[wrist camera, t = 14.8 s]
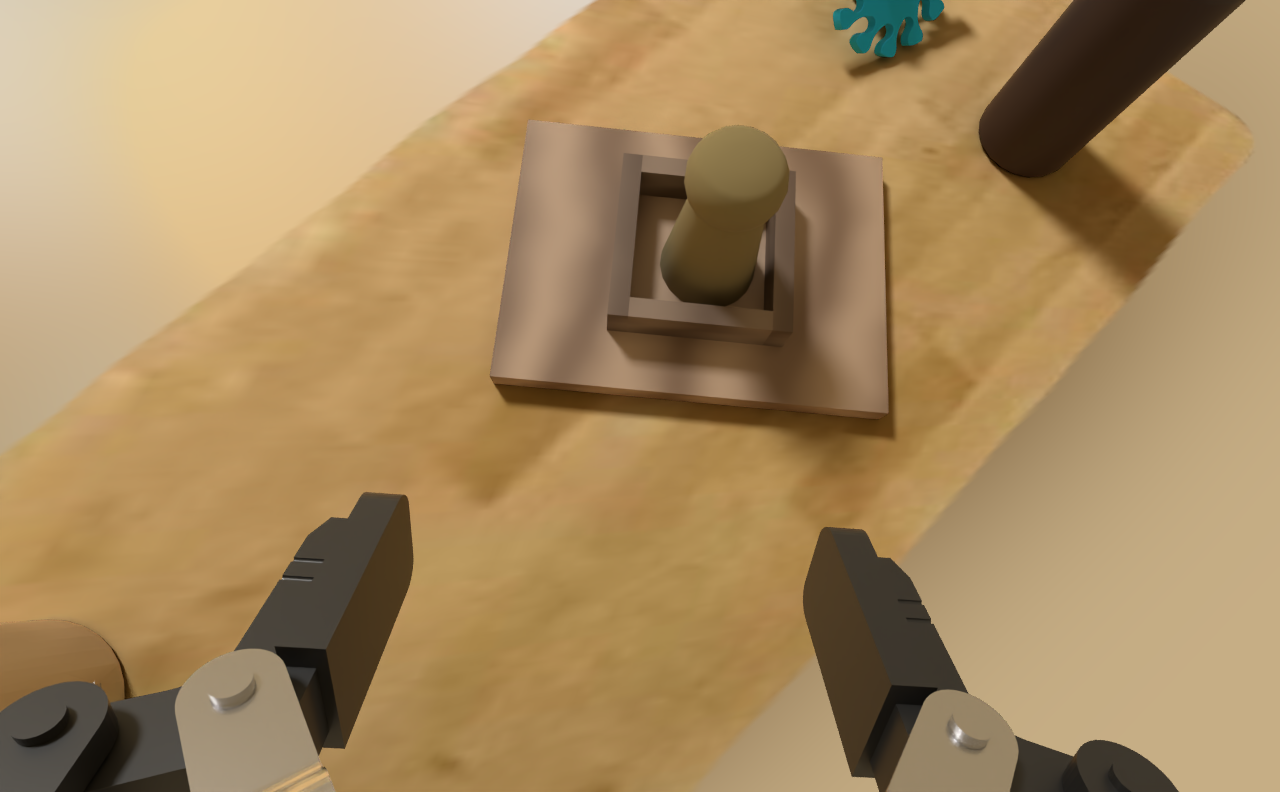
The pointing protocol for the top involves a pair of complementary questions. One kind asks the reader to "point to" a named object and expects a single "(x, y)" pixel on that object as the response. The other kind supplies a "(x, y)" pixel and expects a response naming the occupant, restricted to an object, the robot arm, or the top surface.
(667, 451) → the top surface
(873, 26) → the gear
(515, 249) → the jig board
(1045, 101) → the bottle
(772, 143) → the cork
